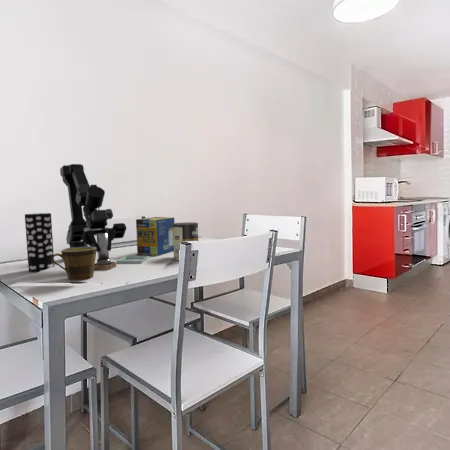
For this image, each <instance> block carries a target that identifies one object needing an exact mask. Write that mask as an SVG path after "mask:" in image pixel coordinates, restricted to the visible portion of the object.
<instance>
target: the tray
mask: <svg viewBox="0 0 450 450" xmlns="http://www.w3.org/2000/svg"><path fill="white" fill-rule="evenodd" d="M149 260H150V256H149V255H129V256H127V255H125V256H124V257H122V258H119V259H117V260H116V264H143V263H145V262H147V261H149Z"/></svg>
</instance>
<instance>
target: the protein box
mask: <svg viewBox="0 0 450 450" xmlns="http://www.w3.org/2000/svg"><path fill="white" fill-rule="evenodd" d="M174 223H175V217H173V216H172V217H171V216H168V217H167V216H152V217H147V218H145V217H144V218H137V219H135V227H136V228H135V229H136V250H137V251H136V252H137V253H136V254H137V255H136V256H152V257H155V256H156V257H158V256H162V255H166V254H168V253H172V252H173V253H174V247H173V226H172V224H174Z"/></svg>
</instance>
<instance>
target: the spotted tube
mask: <svg viewBox="0 0 450 450" xmlns="http://www.w3.org/2000/svg"><path fill="white" fill-rule="evenodd" d="M24 224H25V225H24V227H25V238H26V252H27V265H28V272H29V273H40V272H42V271H45V270H48V269H51V268H54V267H55V263H53V261H52V256H53V255H54V254H55V253H54V241H53V240H54V239H53V237H54V236H53V225H52V224H53V223H52V213H50V212H46V213H45V212H44V213H43V212H42V213H41V212H40V213H26V214H24ZM53 260H54V261H55V257H54V258H53Z"/></svg>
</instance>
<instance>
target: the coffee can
mask: <svg viewBox="0 0 450 450" xmlns="http://www.w3.org/2000/svg"><path fill="white" fill-rule="evenodd" d="M172 226H173V247H174V251H173V259H174V260H176V261H180V260H179V250H180V243H181V242H185V241H198V242H199V223H198V222H189V221H188V222H174V224H172Z"/></svg>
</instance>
